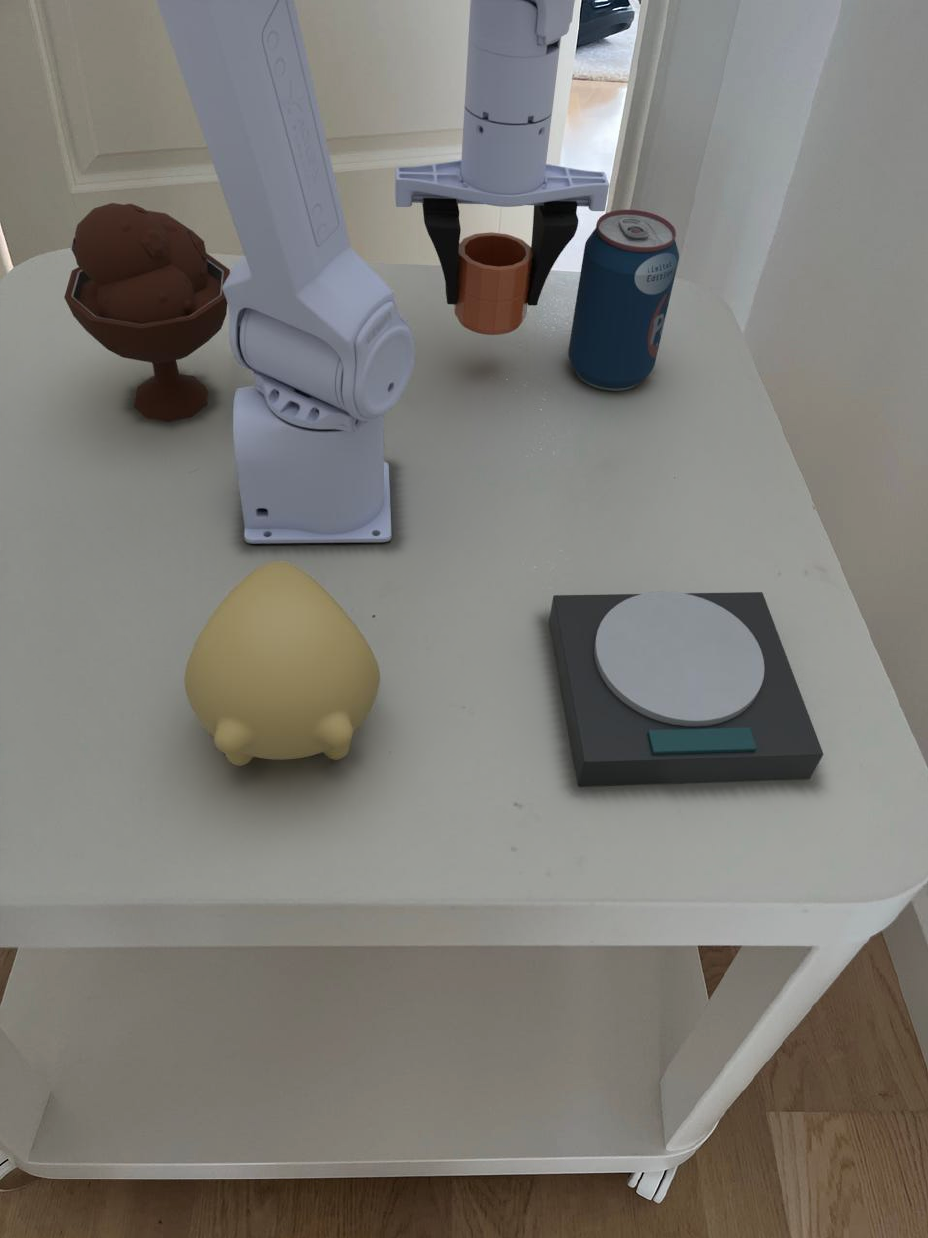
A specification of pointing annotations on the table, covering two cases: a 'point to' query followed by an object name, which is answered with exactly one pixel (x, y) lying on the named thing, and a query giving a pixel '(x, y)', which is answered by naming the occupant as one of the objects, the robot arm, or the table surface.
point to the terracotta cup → (493, 282)
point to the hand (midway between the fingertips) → (491, 297)
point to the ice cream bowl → (148, 299)
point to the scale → (678, 690)
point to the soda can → (622, 298)
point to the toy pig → (281, 670)
